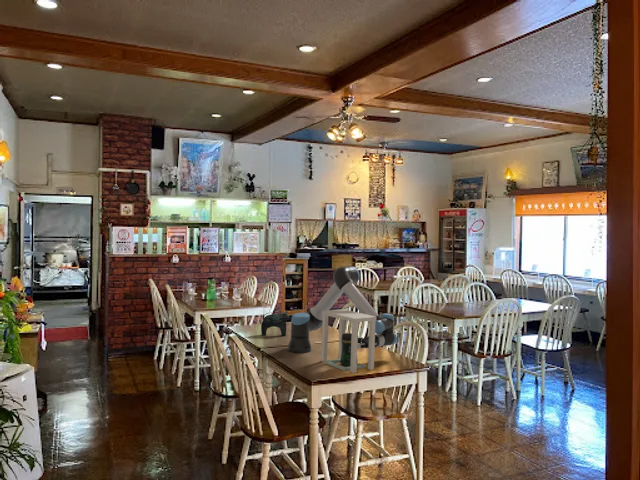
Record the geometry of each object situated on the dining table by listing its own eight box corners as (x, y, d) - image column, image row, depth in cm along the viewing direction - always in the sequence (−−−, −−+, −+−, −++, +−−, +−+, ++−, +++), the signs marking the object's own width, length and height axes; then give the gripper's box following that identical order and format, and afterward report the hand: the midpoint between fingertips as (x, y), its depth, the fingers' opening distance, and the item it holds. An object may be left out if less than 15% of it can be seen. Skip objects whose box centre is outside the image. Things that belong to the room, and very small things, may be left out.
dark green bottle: (344, 367, 293) (345, 335, 292) (338, 364, 300) (339, 332, 300) (359, 366, 297) (360, 334, 296) (353, 362, 304) (354, 331, 304)
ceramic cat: (288, 335, 378) (289, 307, 377) (287, 336, 371) (288, 309, 371) (261, 334, 377) (262, 307, 377) (260, 336, 371) (261, 308, 370)
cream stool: (351, 373, 281) (353, 319, 280) (319, 361, 305) (320, 310, 304) (374, 369, 291) (376, 316, 290) (341, 357, 315) (343, 309, 315)
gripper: (389, 351, 300) (362, 355, 288) (361, 342, 320) (334, 346, 308) (389, 338, 300) (362, 342, 287) (362, 330, 320) (335, 334, 308)
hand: (348, 344), depth 298 cm, fingers open, 13 cm apart
